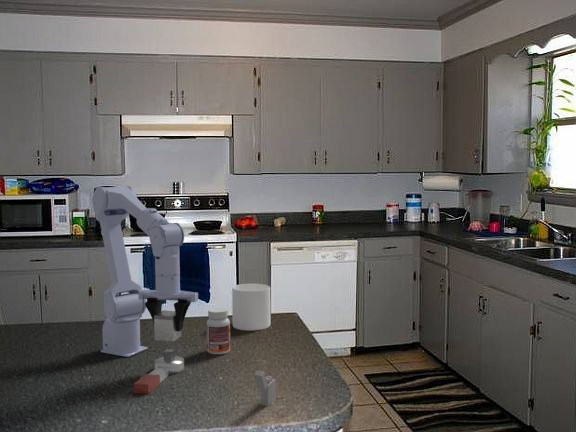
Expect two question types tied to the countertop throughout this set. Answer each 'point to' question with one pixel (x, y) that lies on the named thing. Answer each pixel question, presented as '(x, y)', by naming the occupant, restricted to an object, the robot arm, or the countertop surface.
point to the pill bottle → (218, 331)
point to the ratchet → (160, 372)
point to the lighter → (265, 387)
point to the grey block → (166, 326)
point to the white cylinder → (251, 306)
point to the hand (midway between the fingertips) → (168, 329)
